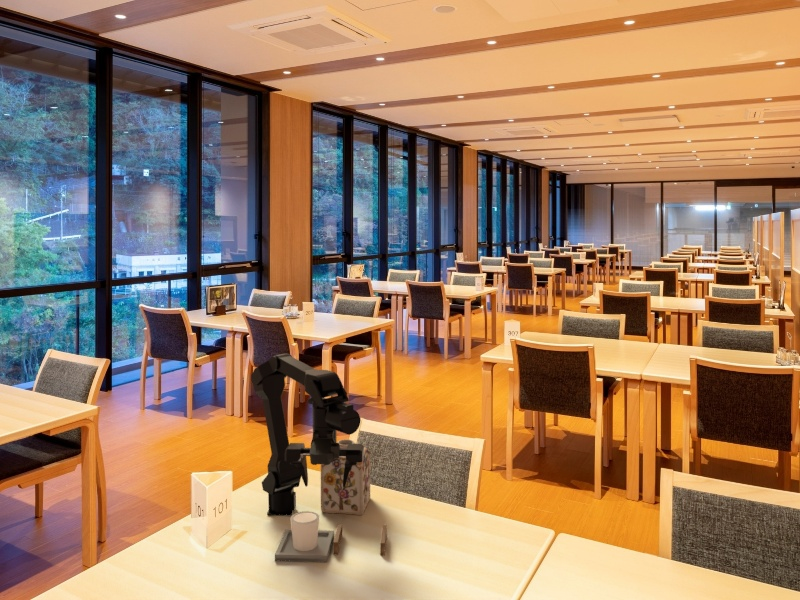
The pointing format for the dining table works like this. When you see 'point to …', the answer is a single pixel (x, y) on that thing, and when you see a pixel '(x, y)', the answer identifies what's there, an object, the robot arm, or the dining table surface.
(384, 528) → the wooden pieces
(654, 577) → the dining table surface
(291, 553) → the tray
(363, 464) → the decorative jar
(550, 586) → the dining table surface
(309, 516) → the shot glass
